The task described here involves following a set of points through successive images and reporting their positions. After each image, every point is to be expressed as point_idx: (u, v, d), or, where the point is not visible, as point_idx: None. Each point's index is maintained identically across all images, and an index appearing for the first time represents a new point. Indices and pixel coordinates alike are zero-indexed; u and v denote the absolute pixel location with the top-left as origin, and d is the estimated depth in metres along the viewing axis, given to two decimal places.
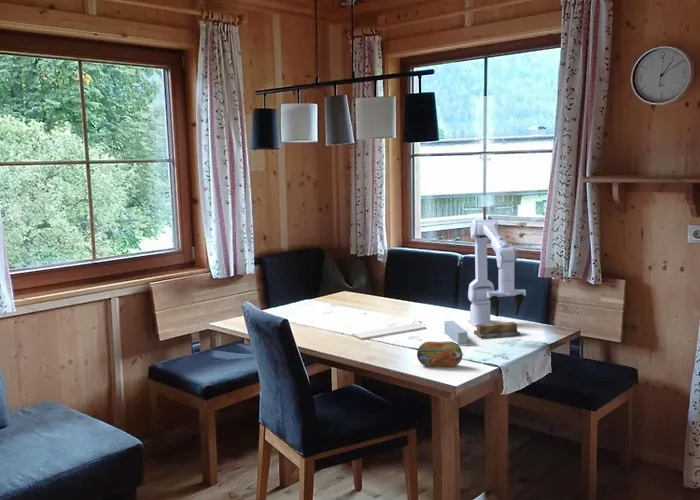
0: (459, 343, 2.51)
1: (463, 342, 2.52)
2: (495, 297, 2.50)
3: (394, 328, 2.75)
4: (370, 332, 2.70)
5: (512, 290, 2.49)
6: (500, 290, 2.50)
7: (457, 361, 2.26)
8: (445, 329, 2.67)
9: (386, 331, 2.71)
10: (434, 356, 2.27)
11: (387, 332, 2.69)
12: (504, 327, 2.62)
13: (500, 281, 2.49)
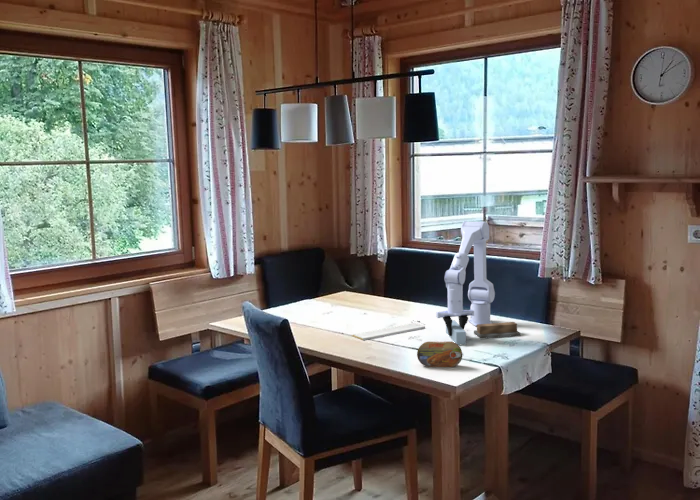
0: (457, 343, 2.51)
1: (461, 342, 2.51)
2: (444, 317, 2.58)
3: (394, 328, 2.75)
4: (371, 332, 2.69)
5: (460, 311, 2.57)
6: (449, 311, 2.58)
7: (457, 361, 2.26)
8: (446, 328, 2.68)
9: (386, 331, 2.71)
10: (434, 356, 2.27)
11: (388, 332, 2.69)
12: (504, 327, 2.62)
13: (449, 302, 2.57)
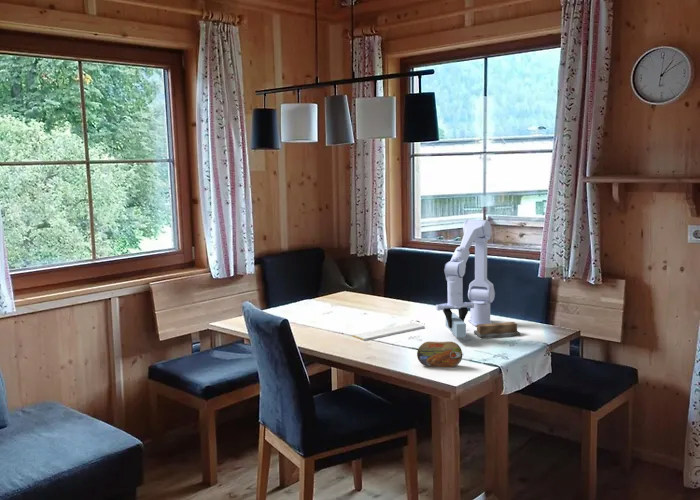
0: (457, 335, 2.51)
1: (461, 334, 2.51)
2: (444, 310, 2.57)
3: (393, 328, 2.75)
4: (371, 333, 2.69)
5: (460, 303, 2.56)
6: (449, 303, 2.57)
7: (457, 361, 2.26)
8: (446, 321, 2.67)
9: (386, 331, 2.71)
10: (434, 356, 2.27)
11: (388, 332, 2.69)
12: (504, 327, 2.62)
13: (449, 294, 2.57)
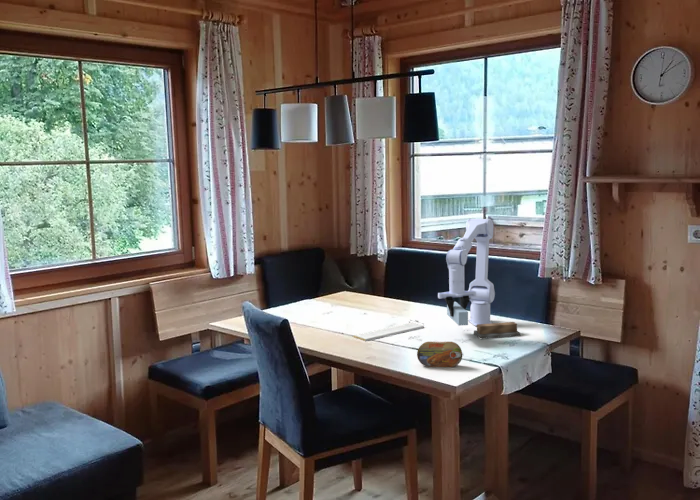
0: (459, 323, 2.50)
1: (464, 322, 2.51)
2: (446, 298, 2.57)
3: (393, 328, 2.75)
4: (371, 333, 2.69)
5: (462, 291, 2.56)
6: (450, 291, 2.57)
7: (457, 361, 2.26)
8: (447, 310, 2.67)
9: (387, 331, 2.71)
10: (434, 356, 2.27)
11: (388, 332, 2.69)
12: (504, 327, 2.62)
13: (450, 282, 2.56)
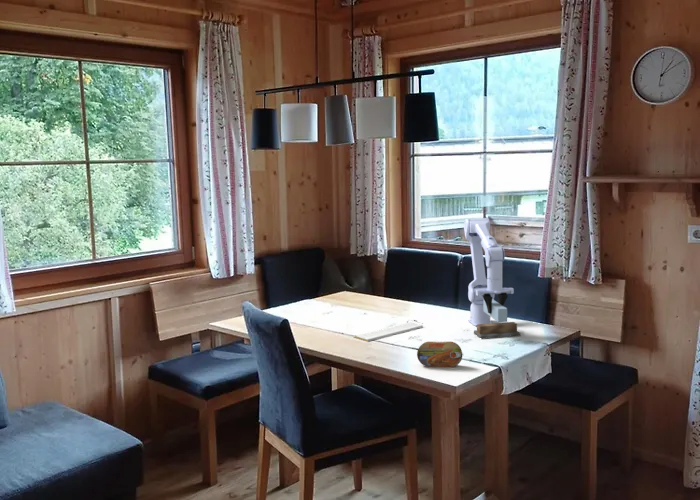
0: (499, 319, 2.53)
1: (503, 318, 2.54)
2: (484, 295, 2.60)
3: (393, 328, 2.75)
4: (372, 333, 2.68)
5: (500, 288, 2.59)
6: (489, 288, 2.60)
7: (457, 361, 2.26)
8: (484, 307, 2.70)
9: (387, 331, 2.70)
10: (434, 356, 2.27)
11: (389, 332, 2.69)
12: (504, 327, 2.62)
13: (489, 280, 2.59)
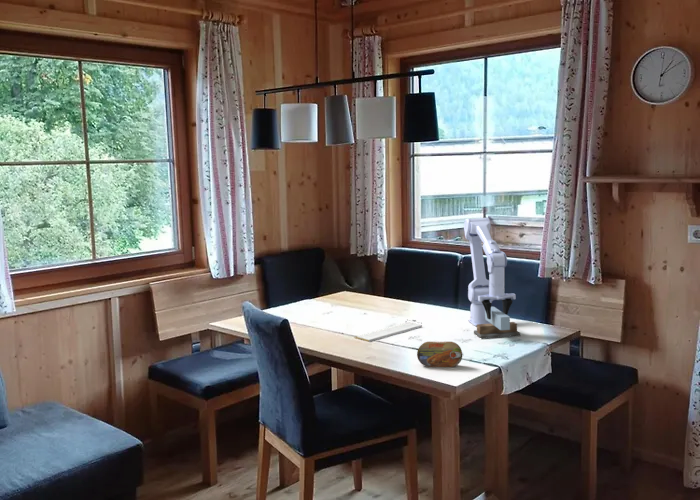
0: (502, 328, 2.54)
1: (505, 327, 2.54)
2: (486, 301, 2.60)
3: (392, 328, 2.75)
4: (373, 334, 2.68)
5: (502, 294, 2.59)
6: (491, 294, 2.60)
7: (457, 361, 2.26)
8: (486, 315, 2.70)
9: (387, 332, 2.70)
10: (434, 356, 2.27)
11: (389, 332, 2.69)
12: None
13: (491, 285, 2.60)
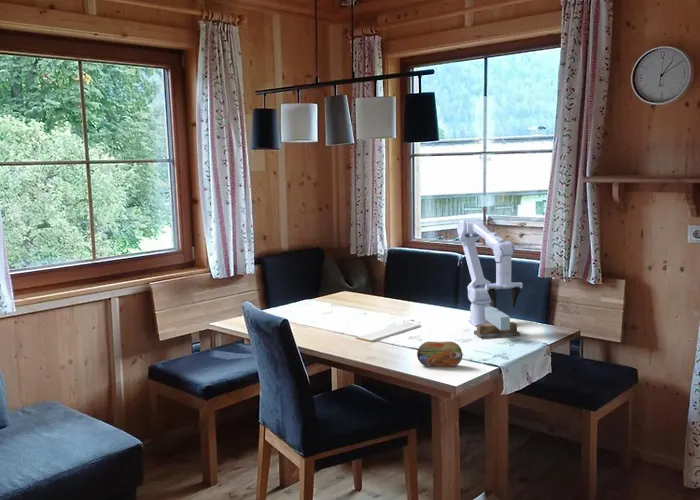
0: (502, 328, 2.54)
1: (505, 327, 2.54)
2: (493, 289, 2.63)
3: (392, 328, 2.75)
4: (373, 334, 2.67)
5: (509, 283, 2.61)
6: (498, 283, 2.62)
7: (457, 361, 2.26)
8: (486, 315, 2.70)
9: (388, 332, 2.70)
10: (434, 356, 2.27)
11: (390, 332, 2.68)
12: None
13: (498, 274, 2.62)
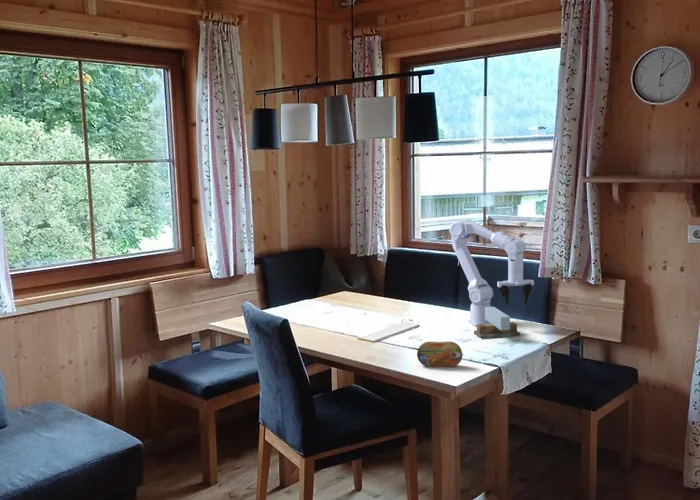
0: (502, 328, 2.54)
1: (505, 327, 2.54)
2: (505, 287, 2.67)
3: (392, 328, 2.75)
4: (374, 334, 2.67)
5: (521, 280, 2.66)
6: (510, 280, 2.67)
7: (457, 361, 2.26)
8: (486, 315, 2.70)
9: (388, 332, 2.70)
10: (434, 356, 2.27)
11: (391, 333, 2.68)
12: None
13: (510, 272, 2.66)
